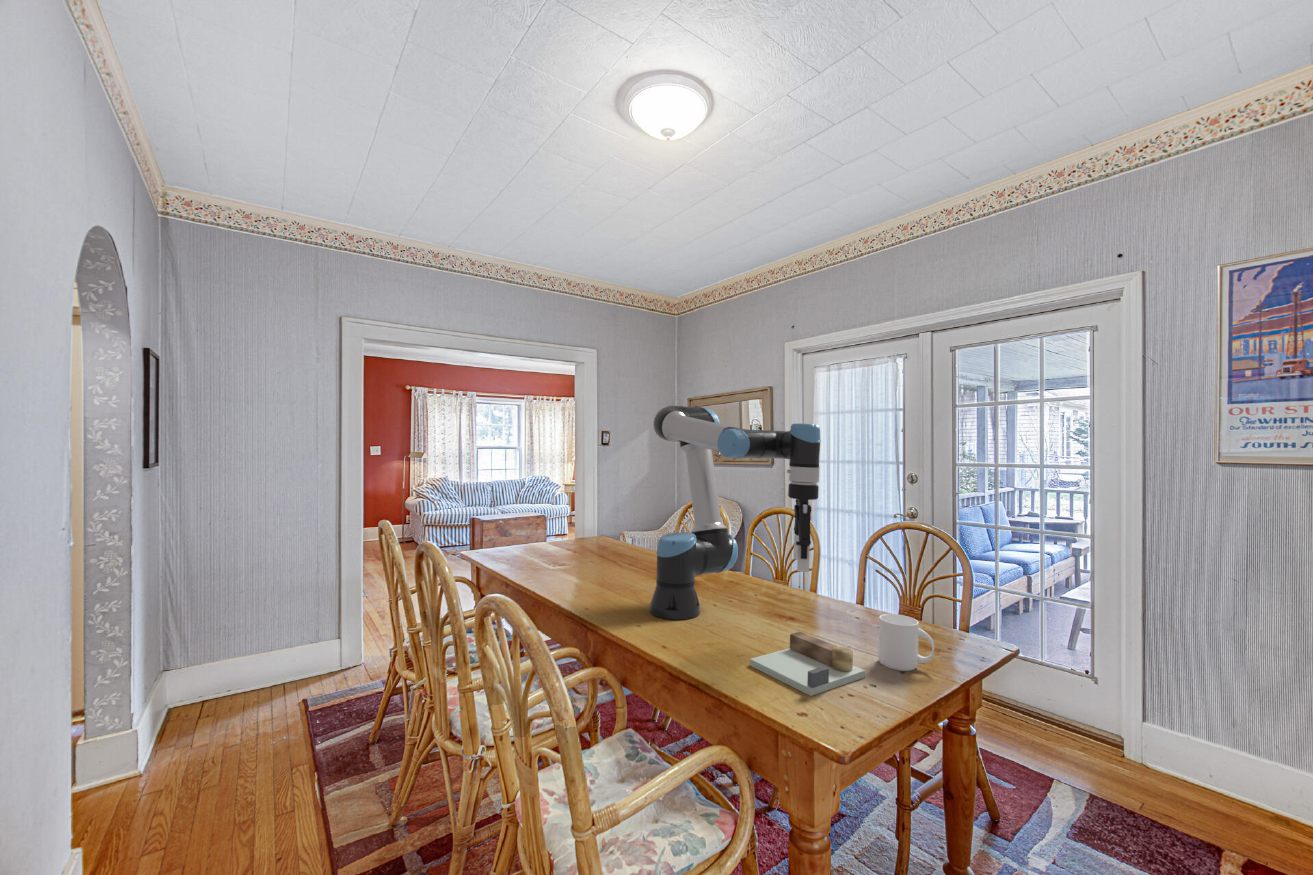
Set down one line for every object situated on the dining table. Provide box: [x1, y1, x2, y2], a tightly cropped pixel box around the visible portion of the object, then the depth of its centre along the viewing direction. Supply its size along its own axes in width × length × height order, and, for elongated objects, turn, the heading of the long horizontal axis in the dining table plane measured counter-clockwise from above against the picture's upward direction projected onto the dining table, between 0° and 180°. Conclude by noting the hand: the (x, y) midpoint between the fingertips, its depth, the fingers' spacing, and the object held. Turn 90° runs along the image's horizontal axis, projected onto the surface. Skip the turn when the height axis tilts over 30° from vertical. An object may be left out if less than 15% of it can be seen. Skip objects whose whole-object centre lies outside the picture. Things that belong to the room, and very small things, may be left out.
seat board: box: [749, 647, 866, 697], centre depth 126 cm, size 18×18×2 cm
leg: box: [789, 631, 854, 671], centre depth 129 cm, size 16×4×4 cm, turn 34°
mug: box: [877, 613, 935, 672], centre depth 130 cm, size 9×12×11 cm
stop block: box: [807, 666, 829, 688], centre depth 115 cm, size 1×5×3 cm, turn 124°
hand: (800, 565), depth 142 cm, fingers open, 13 cm apart
